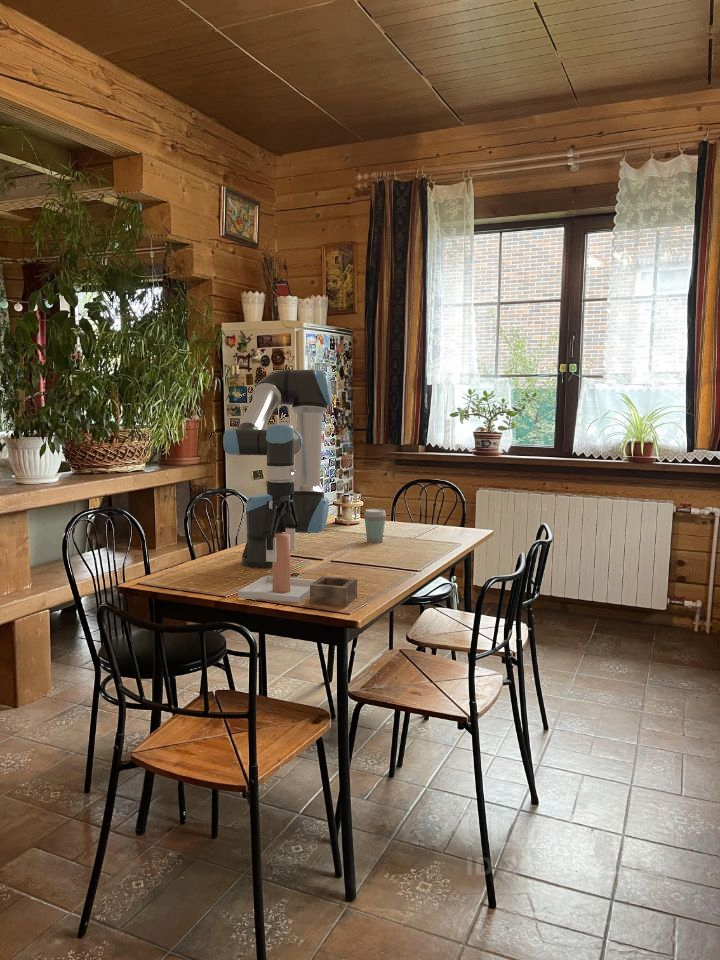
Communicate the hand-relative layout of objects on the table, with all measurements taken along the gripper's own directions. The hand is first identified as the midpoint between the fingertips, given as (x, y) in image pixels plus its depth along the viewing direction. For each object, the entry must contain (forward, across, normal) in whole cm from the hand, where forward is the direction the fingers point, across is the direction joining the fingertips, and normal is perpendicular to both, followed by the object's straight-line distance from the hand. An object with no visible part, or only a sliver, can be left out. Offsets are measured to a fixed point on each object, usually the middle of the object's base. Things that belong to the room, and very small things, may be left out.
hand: (281, 556), depth 206 cm
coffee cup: (+12, +78, -5) cm, 79 cm away
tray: (+11, 0, 0) cm, 11 cm away
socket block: (+11, -4, -17) cm, 21 cm away
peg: (+10, 0, 0) cm, 10 cm away
